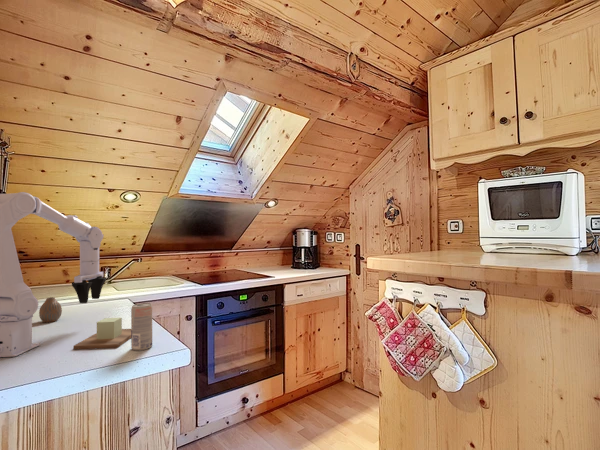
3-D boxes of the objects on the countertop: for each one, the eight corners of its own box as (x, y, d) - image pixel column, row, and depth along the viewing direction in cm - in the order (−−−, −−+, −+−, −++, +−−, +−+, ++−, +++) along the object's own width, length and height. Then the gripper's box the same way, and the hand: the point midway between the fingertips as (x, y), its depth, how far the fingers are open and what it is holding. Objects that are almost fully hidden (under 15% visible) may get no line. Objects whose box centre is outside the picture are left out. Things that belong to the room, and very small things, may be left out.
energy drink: (146, 343, 99) (146, 302, 99) (156, 347, 95) (155, 304, 96) (128, 348, 95) (127, 305, 95) (136, 352, 91) (136, 307, 92)
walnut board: (117, 347, 95) (117, 344, 95) (73, 349, 94) (73, 345, 95) (140, 331, 111) (140, 328, 111) (102, 332, 110) (102, 329, 110)
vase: (65, 320, 128) (65, 297, 129) (44, 324, 123) (44, 300, 123) (56, 318, 132) (56, 295, 132) (35, 322, 126) (35, 298, 126)
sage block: (114, 338, 101) (114, 321, 101) (96, 339, 100) (96, 322, 100) (121, 333, 106) (121, 317, 106) (105, 334, 105) (105, 318, 105)
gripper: (90, 262, 110) (90, 304, 109) (111, 259, 124) (112, 296, 124) (67, 263, 109) (67, 305, 109) (91, 259, 124) (92, 297, 123)
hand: (89, 300), depth 116 cm, fingers open, 7 cm apart
